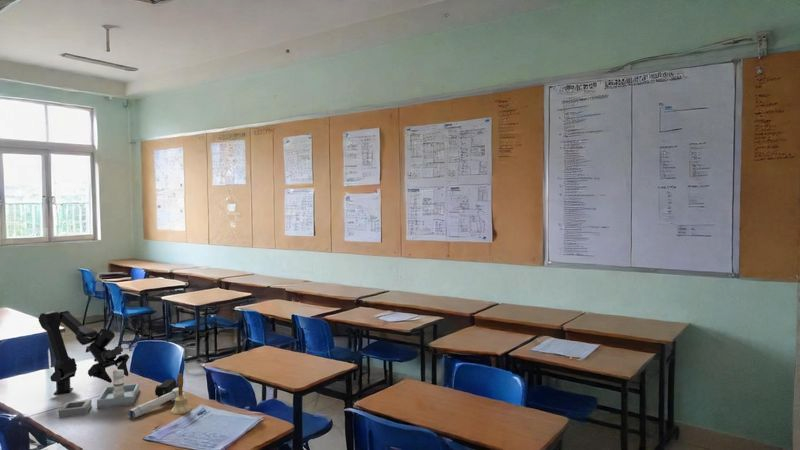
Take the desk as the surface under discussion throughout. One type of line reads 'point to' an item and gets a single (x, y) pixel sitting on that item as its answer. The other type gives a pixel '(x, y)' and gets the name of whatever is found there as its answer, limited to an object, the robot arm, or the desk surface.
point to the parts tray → (109, 401)
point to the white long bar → (154, 403)
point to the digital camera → (165, 387)
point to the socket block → (74, 408)
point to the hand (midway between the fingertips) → (119, 378)
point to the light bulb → (118, 383)
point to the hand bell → (180, 399)
